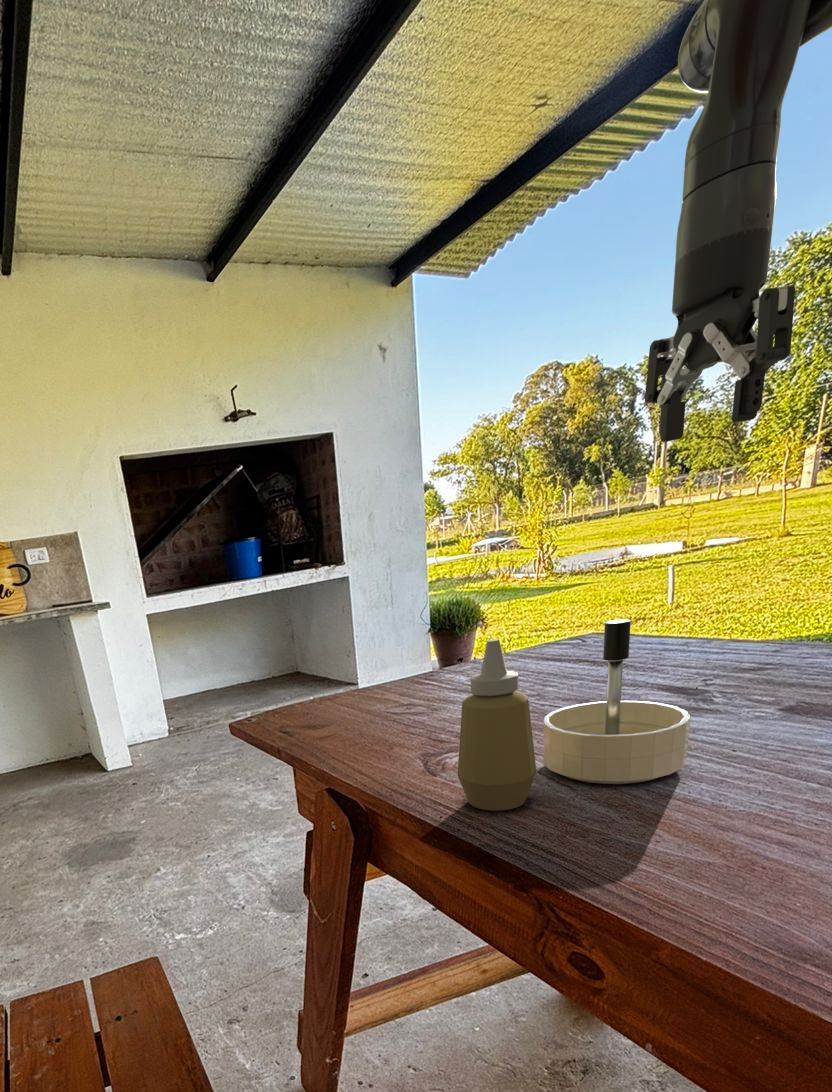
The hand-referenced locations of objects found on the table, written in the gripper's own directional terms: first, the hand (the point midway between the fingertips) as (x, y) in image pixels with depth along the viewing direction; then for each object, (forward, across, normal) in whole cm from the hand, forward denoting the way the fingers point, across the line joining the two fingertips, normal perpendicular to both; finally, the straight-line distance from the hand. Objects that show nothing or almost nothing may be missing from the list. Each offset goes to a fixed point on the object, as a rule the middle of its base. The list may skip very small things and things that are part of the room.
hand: (705, 431), depth 66 cm
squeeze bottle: (+34, -6, +29) cm, 45 cm away
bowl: (+34, -4, +13) cm, 37 cm away
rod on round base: (+33, -4, +13) cm, 36 cm away
